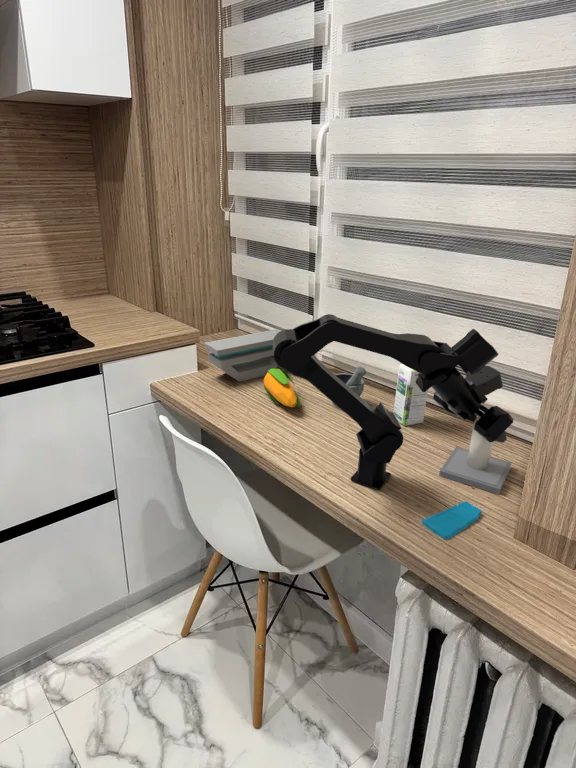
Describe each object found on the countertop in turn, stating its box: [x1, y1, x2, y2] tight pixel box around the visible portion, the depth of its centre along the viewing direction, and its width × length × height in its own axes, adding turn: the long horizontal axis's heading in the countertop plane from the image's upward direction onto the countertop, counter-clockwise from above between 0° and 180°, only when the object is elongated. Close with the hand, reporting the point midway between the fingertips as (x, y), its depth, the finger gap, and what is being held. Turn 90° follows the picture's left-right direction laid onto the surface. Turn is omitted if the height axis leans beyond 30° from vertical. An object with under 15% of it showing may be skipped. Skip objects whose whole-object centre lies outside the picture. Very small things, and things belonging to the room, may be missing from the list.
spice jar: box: [467, 416, 494, 470], centre depth 111 cm, size 4×4×10 cm
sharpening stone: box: [203, 329, 281, 382], centre depth 158 cm, size 25×8×11 cm, turn 125°
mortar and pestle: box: [331, 366, 367, 409], centre depth 139 cm, size 11×9×12 cm
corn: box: [263, 368, 301, 408], centre depth 141 cm, size 7×8×20 cm
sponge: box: [421, 500, 483, 540], centre depth 97 cm, size 2×12×6 cm
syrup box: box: [393, 363, 429, 427], centre depth 131 cm, size 6×6×14 cm
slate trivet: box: [439, 446, 512, 495], centre depth 112 cm, size 12×12×1 cm
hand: (489, 430), depth 110 cm, fingers open, 9 cm apart
